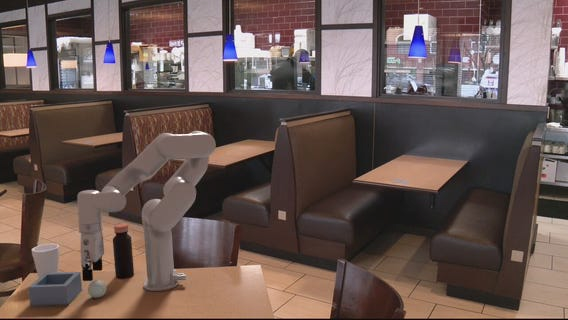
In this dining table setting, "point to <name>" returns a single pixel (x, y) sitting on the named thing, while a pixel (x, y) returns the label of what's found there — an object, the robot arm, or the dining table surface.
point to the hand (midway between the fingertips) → (92, 275)
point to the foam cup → (46, 258)
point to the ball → (97, 288)
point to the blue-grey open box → (55, 289)
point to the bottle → (123, 252)
